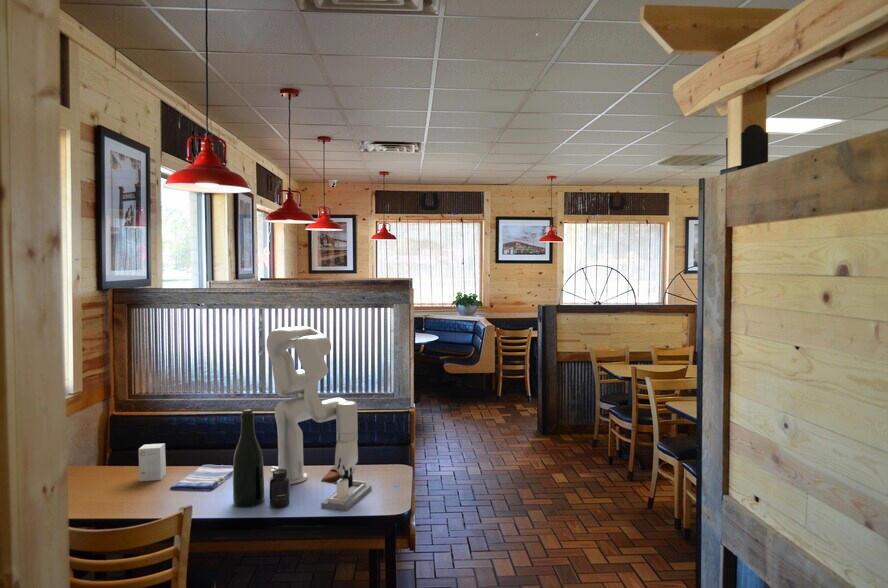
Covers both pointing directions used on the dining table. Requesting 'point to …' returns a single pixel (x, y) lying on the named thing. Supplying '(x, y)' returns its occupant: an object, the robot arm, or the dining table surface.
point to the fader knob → (342, 488)
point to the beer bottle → (248, 465)
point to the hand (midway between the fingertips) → (347, 486)
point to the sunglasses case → (332, 475)
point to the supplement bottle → (279, 489)
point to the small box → (152, 462)
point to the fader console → (353, 496)
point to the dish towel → (205, 478)
